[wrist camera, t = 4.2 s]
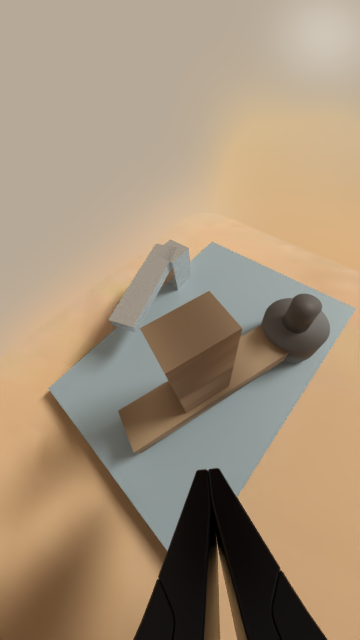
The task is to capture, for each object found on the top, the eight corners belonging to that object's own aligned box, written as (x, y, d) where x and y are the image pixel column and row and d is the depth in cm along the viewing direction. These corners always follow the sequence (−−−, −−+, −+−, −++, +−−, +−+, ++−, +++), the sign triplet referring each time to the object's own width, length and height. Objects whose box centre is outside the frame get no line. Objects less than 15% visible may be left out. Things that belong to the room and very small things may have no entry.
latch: (288, 305, 18) (339, 200, 11) (330, 343, 16) (430, 245, 8) (121, 404, 15) (40, 355, 8) (146, 466, 13) (67, 473, 6)
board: (188, 568, 12) (186, 577, 11) (55, 391, 18) (48, 388, 17) (349, 315, 18) (355, 308, 17) (212, 249, 24) (212, 241, 23)
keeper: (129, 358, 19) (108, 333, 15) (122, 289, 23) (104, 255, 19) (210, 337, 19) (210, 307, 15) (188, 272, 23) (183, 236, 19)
